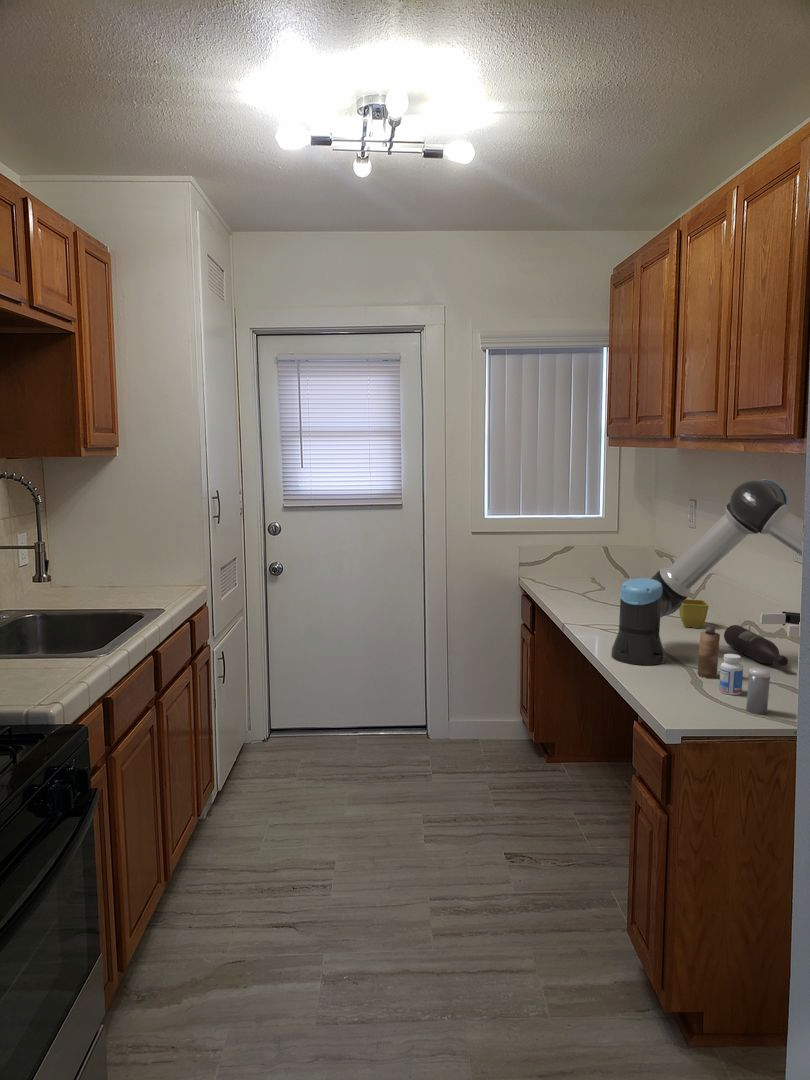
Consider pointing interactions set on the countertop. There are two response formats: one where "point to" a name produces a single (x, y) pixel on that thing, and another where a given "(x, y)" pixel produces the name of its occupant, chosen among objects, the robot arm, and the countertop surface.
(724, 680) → the pill bottle
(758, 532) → the robot arm
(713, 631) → the walnut pepper mill
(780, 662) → the wine bottle
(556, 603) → the countertop surface
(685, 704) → the countertop surface
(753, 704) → the charcoal salt shaker
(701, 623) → the flower pot
